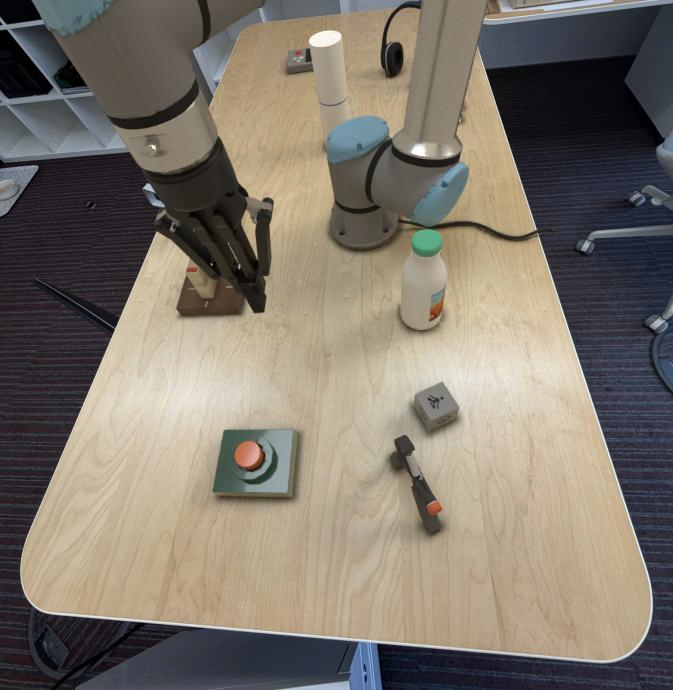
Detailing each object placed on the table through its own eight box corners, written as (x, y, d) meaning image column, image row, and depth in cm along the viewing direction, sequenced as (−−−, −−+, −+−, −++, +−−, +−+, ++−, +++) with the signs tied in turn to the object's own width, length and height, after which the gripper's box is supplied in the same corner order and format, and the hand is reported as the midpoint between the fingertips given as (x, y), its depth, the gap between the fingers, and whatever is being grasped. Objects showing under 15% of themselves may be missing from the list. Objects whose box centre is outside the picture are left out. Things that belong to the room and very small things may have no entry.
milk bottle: (414, 338, 77) (419, 265, 60) (392, 309, 81) (391, 234, 64) (449, 319, 78) (464, 243, 61) (426, 292, 82) (433, 213, 65)
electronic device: (287, 49, 136) (332, 43, 135) (289, 58, 138) (333, 51, 137) (286, 65, 131) (333, 59, 129) (288, 74, 133) (334, 67, 131)
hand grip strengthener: (428, 537, 59) (437, 522, 47) (388, 459, 66) (386, 427, 53) (442, 530, 60) (455, 513, 47) (401, 452, 66) (402, 419, 53)
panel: (247, 276, 90) (243, 267, 88) (240, 313, 85) (236, 305, 83) (191, 278, 92) (186, 271, 89) (181, 315, 87) (175, 308, 84)
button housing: (297, 435, 70) (291, 425, 66) (292, 497, 65) (284, 490, 60) (230, 435, 71) (219, 425, 67) (219, 495, 66) (207, 489, 62)
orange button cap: (265, 444, 65) (261, 440, 63) (262, 470, 63) (258, 467, 61) (241, 444, 65) (236, 440, 64) (236, 470, 63) (232, 466, 62)
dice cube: (413, 406, 70) (414, 394, 66) (439, 394, 70) (442, 381, 66) (428, 431, 67) (430, 420, 63) (455, 418, 68) (459, 407, 64)
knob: (207, 278, 88) (191, 250, 81) (218, 277, 87) (202, 250, 80) (202, 298, 85) (184, 272, 78) (213, 298, 85) (196, 271, 78)
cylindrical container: (321, 151, 110) (303, 46, 88) (331, 135, 113) (316, 29, 91) (346, 155, 107) (334, 47, 86) (356, 138, 111) (346, 31, 89)
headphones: (448, 78, 120) (456, 1, 104) (437, 90, 118) (443, 13, 102) (390, 65, 128) (389, -8, 112) (378, 76, 125) (375, 3, 110)
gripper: (98, 186, 35) (210, 330, 55) (244, 170, 33) (305, 325, 54) (123, 132, 39) (219, 286, 59) (256, 115, 37) (308, 279, 57)
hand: (260, 304), depth 56 cm, fingers closed
